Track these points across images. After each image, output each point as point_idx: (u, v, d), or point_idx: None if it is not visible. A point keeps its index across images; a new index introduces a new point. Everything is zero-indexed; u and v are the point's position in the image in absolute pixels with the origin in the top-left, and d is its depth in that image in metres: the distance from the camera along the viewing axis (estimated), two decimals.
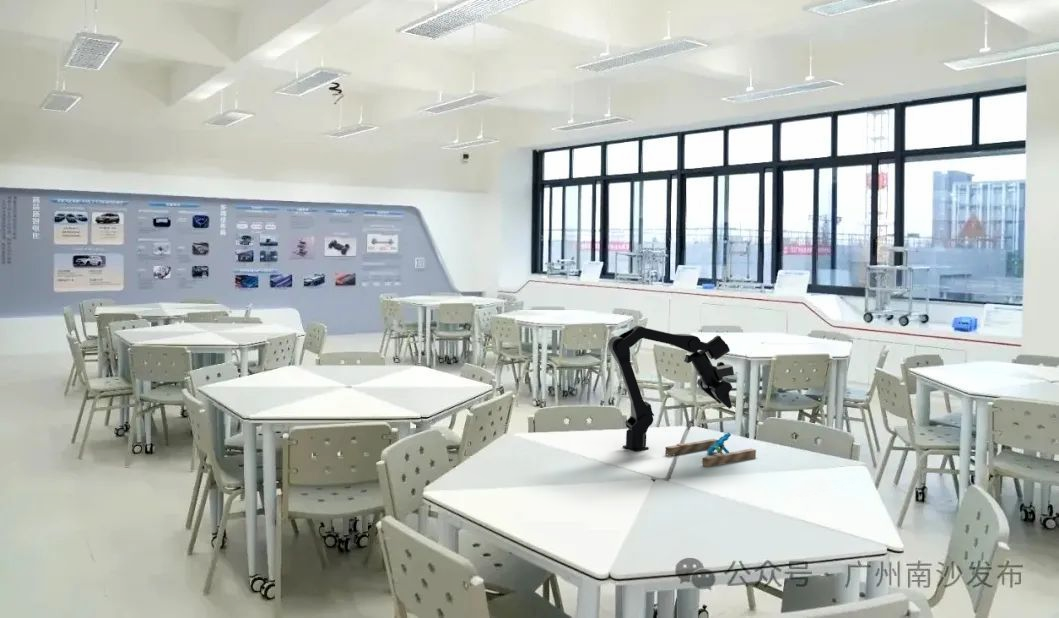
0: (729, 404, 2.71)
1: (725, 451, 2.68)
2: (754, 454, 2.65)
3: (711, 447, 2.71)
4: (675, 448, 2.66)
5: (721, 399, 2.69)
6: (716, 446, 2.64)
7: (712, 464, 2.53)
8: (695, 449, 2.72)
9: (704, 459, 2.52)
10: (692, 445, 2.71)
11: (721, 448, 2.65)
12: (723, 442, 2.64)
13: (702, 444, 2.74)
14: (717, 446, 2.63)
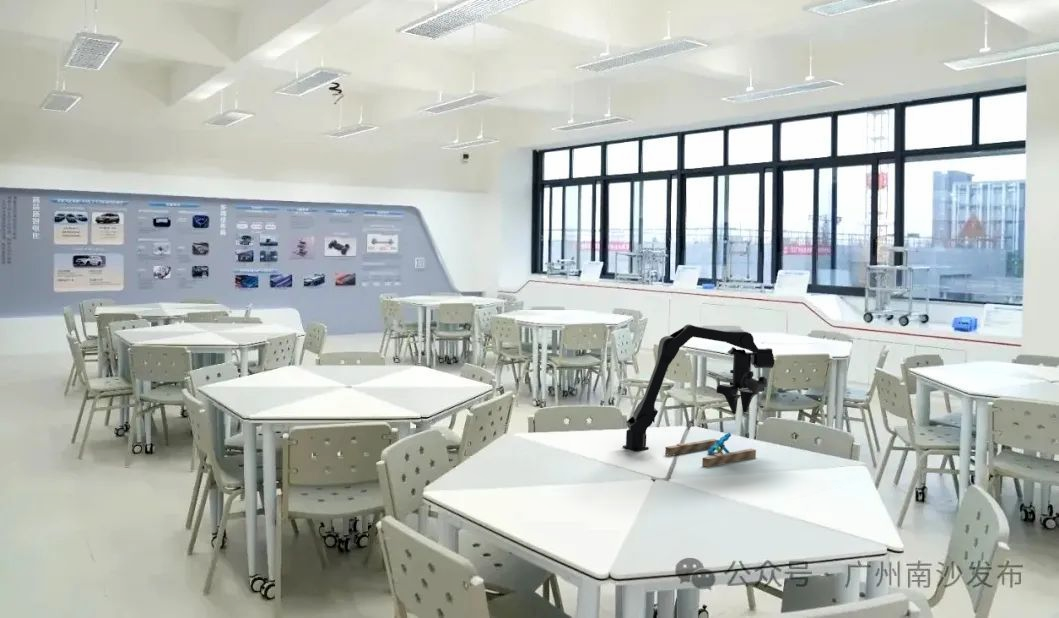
0: (733, 409, 2.71)
1: (725, 451, 2.68)
2: (754, 454, 2.65)
3: (712, 447, 2.71)
4: (675, 448, 2.66)
5: (727, 399, 2.72)
6: (716, 446, 2.64)
7: (712, 464, 2.53)
8: (695, 449, 2.72)
9: (704, 459, 2.52)
10: (692, 445, 2.71)
11: (721, 448, 2.65)
12: (723, 442, 2.64)
13: (702, 444, 2.74)
14: (717, 446, 2.63)
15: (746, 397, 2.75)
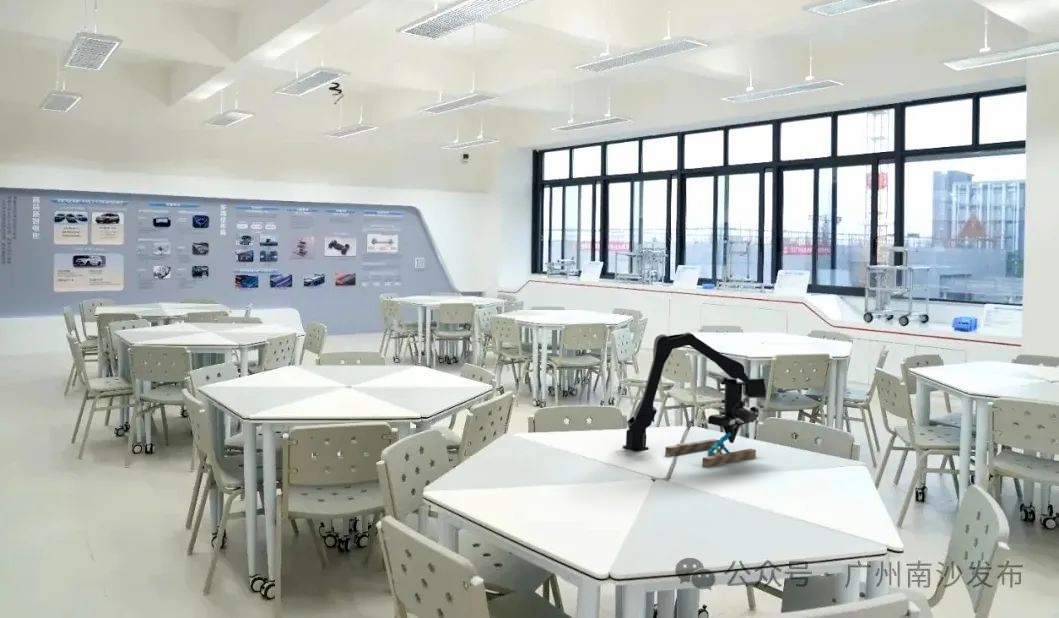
0: (730, 438, 2.71)
1: (725, 451, 2.67)
2: (754, 454, 2.65)
3: (712, 447, 2.71)
4: (675, 448, 2.66)
5: (724, 428, 2.72)
6: (715, 446, 2.63)
7: (712, 464, 2.53)
8: (695, 449, 2.72)
9: (704, 459, 2.52)
10: (692, 445, 2.71)
11: (721, 448, 2.65)
12: (723, 442, 2.63)
13: (702, 444, 2.74)
14: (716, 446, 2.63)
15: None
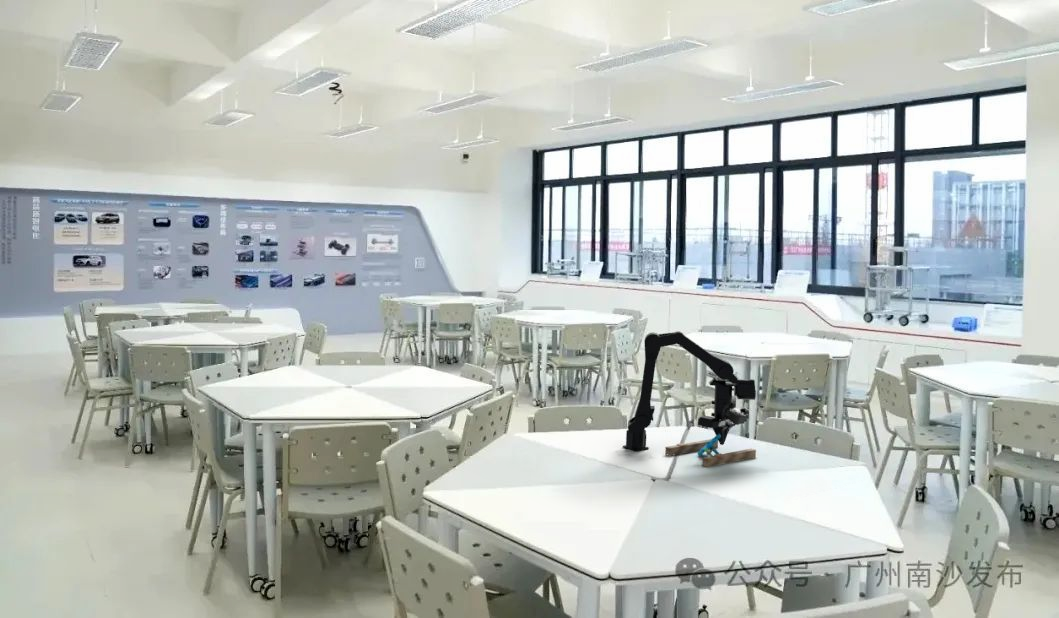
0: (720, 440, 2.68)
1: (715, 453, 2.64)
2: (754, 454, 2.65)
3: (702, 449, 2.68)
4: (675, 448, 2.66)
5: (714, 430, 2.69)
6: (705, 448, 2.60)
7: (712, 464, 2.53)
8: (695, 449, 2.72)
9: (704, 459, 2.52)
10: (692, 445, 2.71)
11: (711, 450, 2.61)
12: (712, 444, 2.60)
13: (702, 444, 2.74)
14: (706, 448, 2.59)
15: None
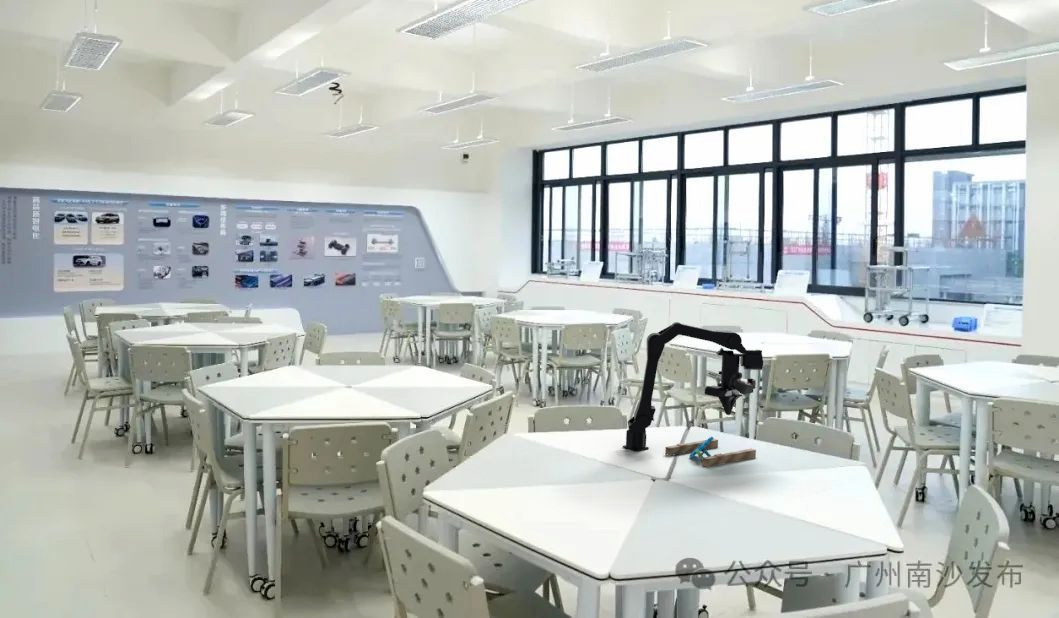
0: (726, 410, 2.69)
1: (707, 455, 2.61)
2: (754, 454, 2.65)
3: (694, 451, 2.65)
4: (675, 448, 2.66)
5: (721, 400, 2.70)
6: (697, 450, 2.57)
7: (712, 464, 2.53)
8: None
9: (704, 459, 2.52)
10: (692, 445, 2.71)
11: (702, 452, 2.59)
12: (704, 446, 2.57)
13: None
14: (697, 450, 2.57)
15: None
